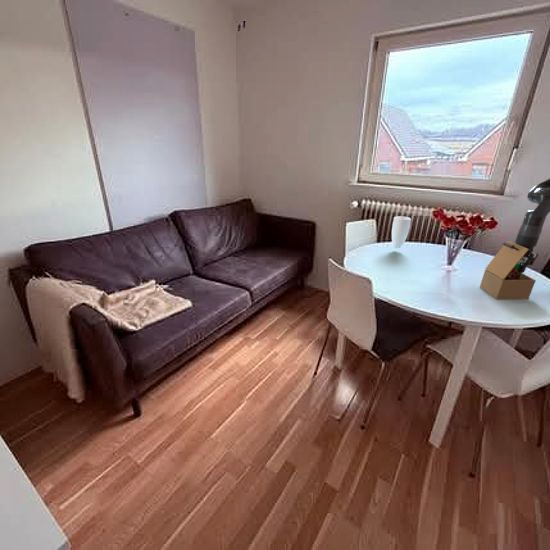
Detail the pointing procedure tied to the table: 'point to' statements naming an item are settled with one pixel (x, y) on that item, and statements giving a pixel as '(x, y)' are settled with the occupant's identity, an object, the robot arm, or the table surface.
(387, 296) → the table surface
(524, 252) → the flap
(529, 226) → the robot arm
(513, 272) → the soda can
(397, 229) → the white vase
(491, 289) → the carton
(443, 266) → the table surface
